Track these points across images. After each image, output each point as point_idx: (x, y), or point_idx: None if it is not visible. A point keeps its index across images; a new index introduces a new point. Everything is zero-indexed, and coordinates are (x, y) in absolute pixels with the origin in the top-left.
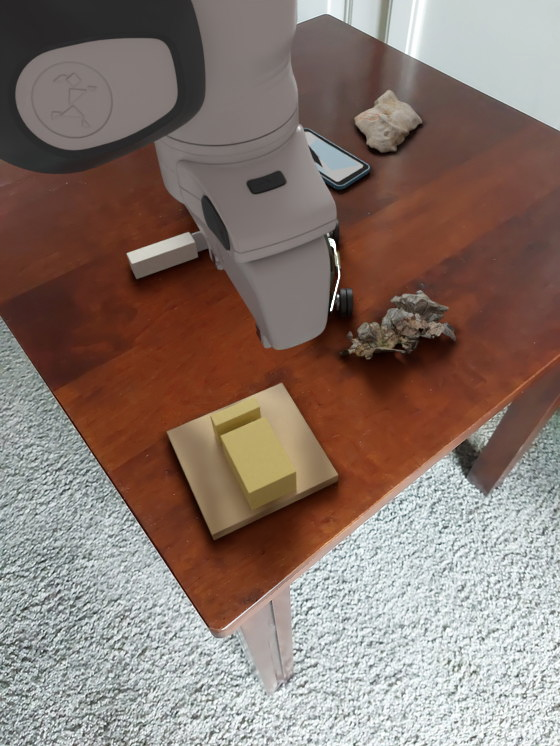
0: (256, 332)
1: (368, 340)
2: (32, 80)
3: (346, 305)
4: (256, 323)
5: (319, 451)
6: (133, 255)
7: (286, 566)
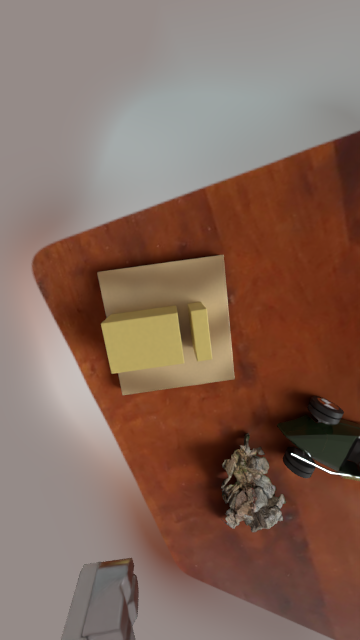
0: (124, 574)
1: (248, 462)
2: None
3: (292, 464)
4: (111, 633)
5: (150, 387)
6: None
7: (61, 325)
